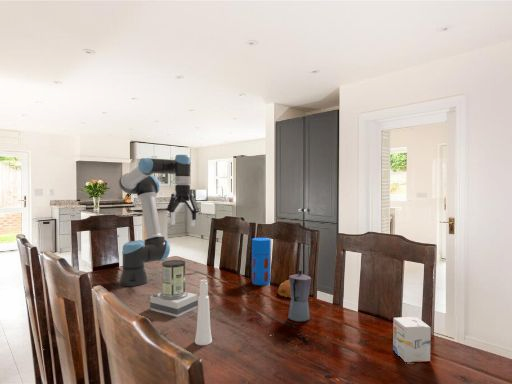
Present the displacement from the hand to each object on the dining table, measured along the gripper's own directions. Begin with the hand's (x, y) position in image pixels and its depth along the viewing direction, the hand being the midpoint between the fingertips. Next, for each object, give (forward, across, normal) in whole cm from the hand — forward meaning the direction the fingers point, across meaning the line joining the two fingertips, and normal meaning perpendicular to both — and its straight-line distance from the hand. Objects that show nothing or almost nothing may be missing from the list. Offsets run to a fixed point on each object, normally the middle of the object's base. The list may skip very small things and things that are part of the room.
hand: (182, 225), depth 179 cm
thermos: (+35, +27, +36) cm, 57 cm away
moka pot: (+35, +67, -3) cm, 76 cm away
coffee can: (+28, +14, -21) cm, 38 cm away
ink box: (+35, +111, -14) cm, 117 cm away
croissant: (+35, +51, +26) cm, 67 cm away
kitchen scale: (+35, +14, -21) cm, 43 cm away
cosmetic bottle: (+35, +46, -40) cm, 70 cm away
